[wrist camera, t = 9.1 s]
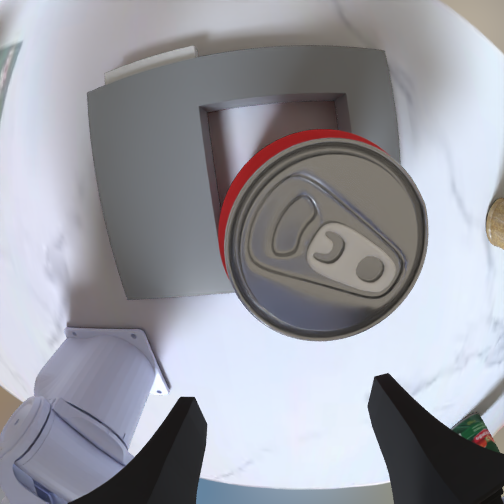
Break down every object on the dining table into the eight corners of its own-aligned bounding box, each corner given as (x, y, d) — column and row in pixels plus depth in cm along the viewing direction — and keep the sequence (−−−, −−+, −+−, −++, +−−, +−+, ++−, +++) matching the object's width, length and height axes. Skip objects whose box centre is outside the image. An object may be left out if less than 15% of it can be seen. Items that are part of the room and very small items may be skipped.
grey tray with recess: (140, 283, 19) (127, 299, 17) (105, 83, 14) (86, 76, 12) (383, 258, 18) (398, 272, 16) (366, 46, 13) (380, 34, 11)
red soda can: (266, 130, 16) (282, 79, 4) (339, 169, 16) (467, 207, 5) (230, 203, 17) (177, 300, 6) (301, 238, 18) (358, 369, 7)
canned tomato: (484, 405, 27) (508, 448, 17) (471, 427, 30) (491, 466, 19) (449, 426, 28) (471, 474, 18) (438, 445, 30) (456, 488, 20)
